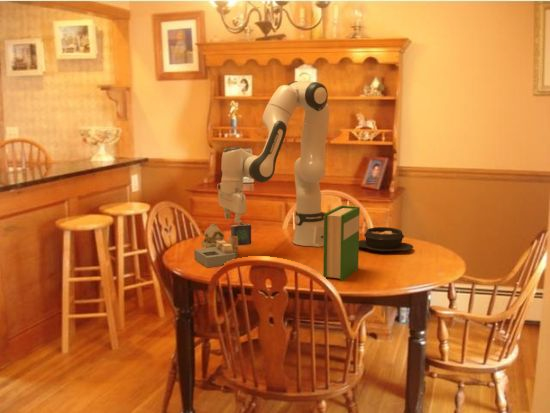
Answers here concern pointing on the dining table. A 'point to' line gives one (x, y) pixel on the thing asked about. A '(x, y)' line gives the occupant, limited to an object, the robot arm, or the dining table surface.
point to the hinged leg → (224, 246)
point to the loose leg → (234, 244)
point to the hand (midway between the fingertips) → (232, 220)
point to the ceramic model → (212, 236)
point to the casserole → (384, 240)
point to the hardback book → (341, 242)
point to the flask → (242, 233)
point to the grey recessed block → (212, 256)
